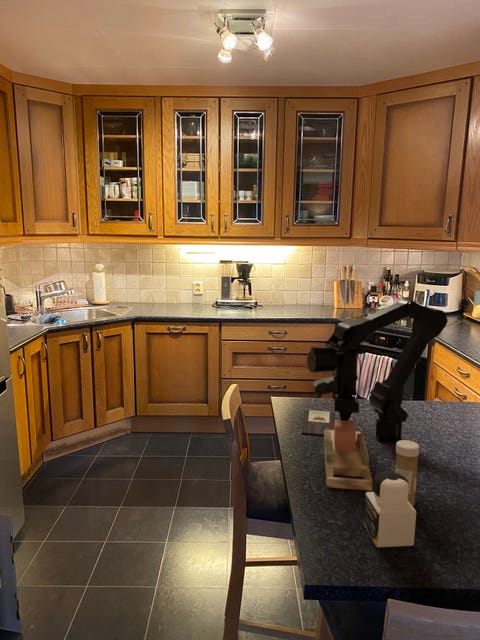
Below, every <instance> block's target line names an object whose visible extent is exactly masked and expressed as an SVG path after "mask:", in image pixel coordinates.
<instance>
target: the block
mask: <svg viewBox="0 0 480 640" xmlns="http://www.w3.org/2000/svg"><path fill="white" fill-rule="evenodd" d="M355 425H356V424H355V421H354V420H348V421H346V420H340V419H334V444H335V450H340V451H353V452H355V443H356V432H357V431H356V426H355Z"/></svg>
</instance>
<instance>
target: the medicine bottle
mask: <svg viewBox="0 0 480 640" xmlns="http://www.w3.org/2000/svg"><path fill="white" fill-rule="evenodd" d="M373 483H374V485H373V491H366V492H365V498H364V514H363V515H364V517H363V526H364V527H365V530H366V531H367V532H368V535H369V537H370V538H371V540H372V541H373V544H374V545H375V547H376V548H391V547H392V548H394V547H411V546H414V545H415V535H416V534H415V533H416V532H415V531H416V521H417V519H416V518H417V511H416V509H415V508H414V506H412V505H411V504H410V503H409V501H408V487H409V482H408V480H407V479H406V478H405V477H404V476H402V475H400V474H398V473H395V471H382V472H381V471H380V472H379V473H377V474H376V475H375V477H374V482H373Z"/></svg>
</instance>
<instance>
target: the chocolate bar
mask: <svg viewBox="0 0 480 640" xmlns="http://www.w3.org/2000/svg"><path fill="white" fill-rule="evenodd" d="M304 411H305V412H304V417H303V422H302V429H301V435H303V436H304V435H308V436H316V437H324V429H325V430H334V425H335V411H334V412H333V411H322V410H321V411H320V410H310V409H307V410H306V409H305V410H304Z"/></svg>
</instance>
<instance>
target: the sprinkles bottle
mask: <svg viewBox="0 0 480 640" xmlns="http://www.w3.org/2000/svg"><path fill="white" fill-rule="evenodd" d="M395 443H396V444H395V454H396V459H395V466H394V473H398V474H400V475H402V476H404V477H405V478H406V479H407V480H408V482H409V487H408V501H409V503H410V504H411V505H412V506H413V507H414V506H415V505H416V501H415V500H416V490H417V476H418V475H417V474H418V473H417V472H418V470H417V469H418V459H419V458H418V457H419V454H420V445H419V444H418V443H417V442H415V441H412V440H408V439H402V440H401V441H398V442H395Z"/></svg>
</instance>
